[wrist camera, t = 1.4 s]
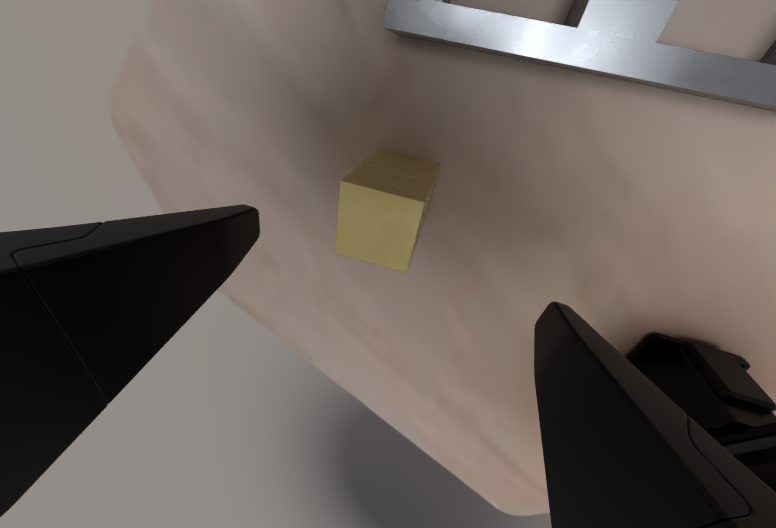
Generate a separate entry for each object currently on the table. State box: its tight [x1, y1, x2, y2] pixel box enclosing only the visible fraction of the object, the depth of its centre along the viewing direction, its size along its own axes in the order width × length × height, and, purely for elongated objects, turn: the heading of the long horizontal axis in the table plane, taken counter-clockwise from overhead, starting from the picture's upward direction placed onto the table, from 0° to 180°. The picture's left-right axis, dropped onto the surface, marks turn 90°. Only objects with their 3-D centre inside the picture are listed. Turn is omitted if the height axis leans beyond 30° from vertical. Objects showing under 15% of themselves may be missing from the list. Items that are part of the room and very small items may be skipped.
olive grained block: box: [335, 149, 440, 273], centre depth 17 cm, size 4×4×7 cm
